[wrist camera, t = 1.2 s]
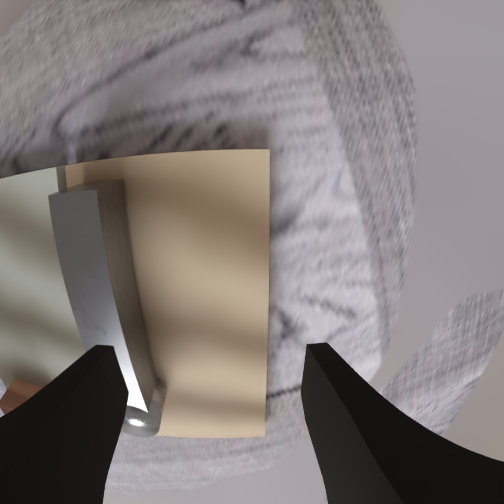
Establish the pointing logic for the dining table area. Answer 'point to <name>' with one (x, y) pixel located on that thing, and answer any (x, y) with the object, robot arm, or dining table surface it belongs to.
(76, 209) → the bar
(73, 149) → the dining table surface
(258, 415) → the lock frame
